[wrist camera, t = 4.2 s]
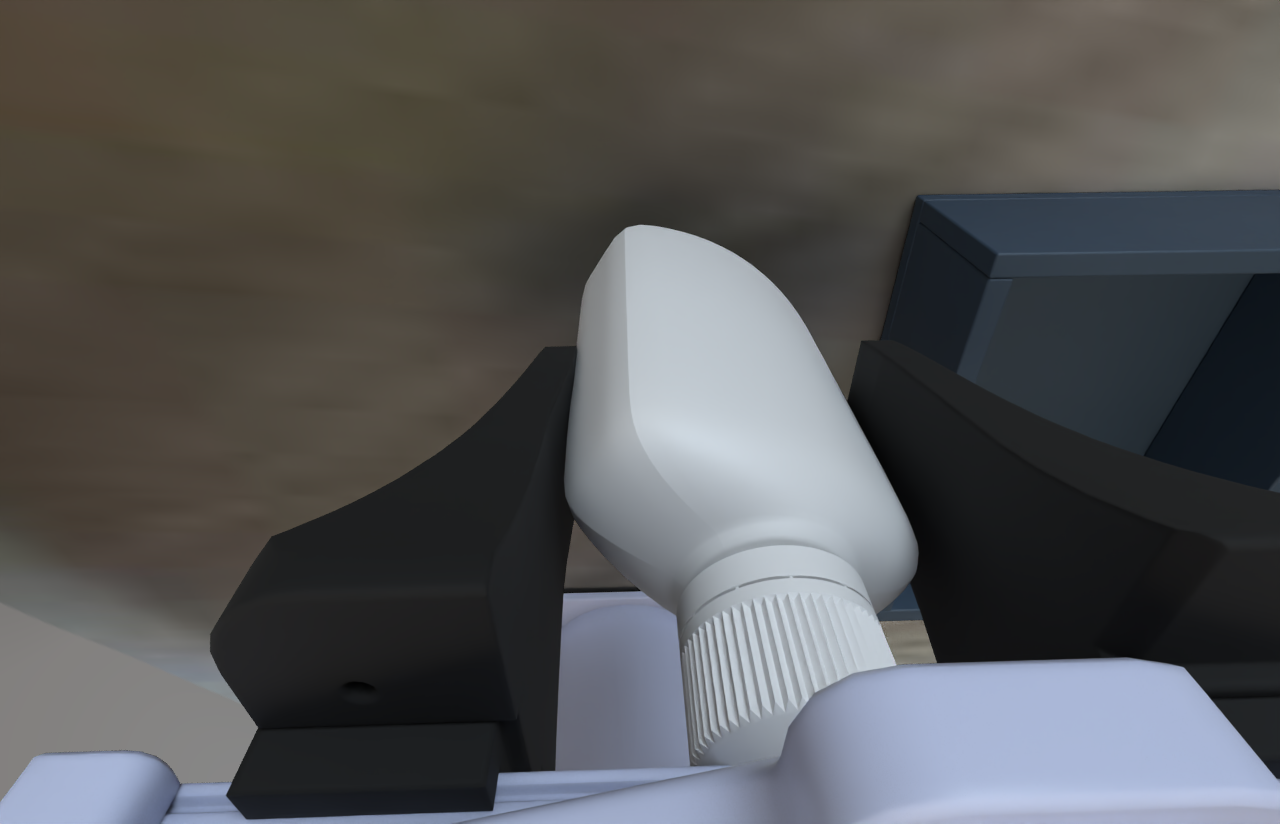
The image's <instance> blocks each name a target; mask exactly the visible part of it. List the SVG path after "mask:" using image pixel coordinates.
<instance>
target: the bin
mask: <svg viewBox="0 0 1280 824" xmlns="http://www.w3.org/2000/svg"><path fill="white" fill-rule="evenodd" d="M881 340H893V341H896V342H898V343H901V344H903V345H905V346H907V347H909V348H911V349H913V350H915V351H917V352H919V353H920V354H922V355H924V356H926V357H928V358H930V359H931V360H933V361H935V362H937V363H939V364H940V365H942V366H944V367H946V368H947V369H949V370H951V371H953V372H955V373H956V374H958V375H960V376H962V377H964V378H965V379H967V380H969V381H971V382H973V383H975V384H976V385H978V386H980V387H982V388H984V389H986V390H988V391H989V392H991V393H993V394H995V395H997V396H999V397H1001V398H1003V399H1005V400H1007V401H1009V402H1011V403H1013V404H1015V405H1017V406H1019V407H1021V408H1023V409H1025V410H1027V411H1029V412H1031V413H1034V414H1036V415H1038V416H1040V417H1042V418H1045V419H1047V420H1049V421H1051V422H1054V423H1056V424H1059V425H1061V426H1063V427H1066V428H1068V429H1071V430H1073V431H1076V432H1078V433H1081V434H1083V435H1086V436H1088V437H1090V438H1093V439H1096V440H1098V441H1101V442H1104V443H1107V444H1109V445H1112V446H1115V447H1118V448H1121V449H1124V450H1127V451H1130V452H1133V453H1136V454H1139V455H1142V456H1145V457H1148V458H1151V459H1154V460H1157V461H1160V462H1163V463H1167V464H1170V465H1173V466H1177V467H1180V468H1184V469H1187V470H1190V471H1194V472H1197V473H1201V474H1205V475H1209V476H1213V477H1217V478H1220V479H1224V480H1228V481H1232V482H1236V483H1239V484H1243V485H1247V486H1251V487H1255V488H1260V489H1264V490H1269V491H1274V492H1279V493H1280V190H1256V191H1184V192H1112V193H1040V194H968V195H918V196H917V198H916V202H915V206H914V210H913V214H912V218H911V222H910V226H909V230H908V234H907V238H906V242H905V246H904V250H903V254H902V258H901V262H900V266H899V270H898V274H897V278H896V282H895V286H894V290H893V293H892V297H891V301H890V305H889V309H888V313H887V317H886V321H885V325H884V329H883V333H882V337H881ZM876 615H877V618H878V620H879V621H905V620H923V618H922V615H921V612H920V610H919V607H918V604H917V601H916V598H915V596H914V593H913V590H912V587H911V585H910V583H909V584H908V586H907V587H906V589H905V590H904V591H903V592H902V593H901V594H900V595H899V596H898V597H897V598H896V599H895V600H894V601H892V602H891V603H890V604H889V605H888V606H887V607H885V608H884V609H883V610H882V611H880V612H879V613H878V614H876Z"/></svg>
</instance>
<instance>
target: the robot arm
mask: <svg viewBox="0 0 1280 824" xmlns="http://www.w3.org/2000/svg"><path fill="white" fill-rule="evenodd" d="M576 358H577V346H564V347H545V348H544V349H543V350H542V351H541V352H540V353H539V354H538V356H537V357H536V358H535V359H534V361H533V362H532V363H531V364H530V366H529V367H528V368H527V369H526V371H525V372H524V373H523V374H522V375H521V376H520V378H519V379H518V380H517V381H516V382H515V383H514V385H513V386H512V387H511V388H510V389H509V390H508V391H507V392H506V393H505V395H504V396H503V397H502V398H501V399H500V400H499V401H498V402H497V403H496V404H495V405H494V406H493V407H492V408H491V409H490V410H489V411H488V412H487V413H486V414H485V415H484V416H483V417H482V418H481V419H480V420H479V421H478V422H477V423H476V424H475V425H473V426H472V427H471V428H470V429H469V430H467V431H466V432H465V433H464V434H463V435H461V436H460V437H459V438H458V439H456V440H455V441H454V442H452V443H451V444H450V445H448V446H447V447H446V448H444V449H443V450H442V451H440V452H439V453H437V454H436V455H434V456H433V457H431V458H430V459H428V460H427V461H425V462H423V463H422V464H420V465H419V466H417V467H416V468H414V469H413V470H411V471H409V472H408V473H406V474H405V475H403V476H402V477H400V478H398V479H397V480H395V481H393V482H391V483H389V484H388V485H386V486H384V487H382V488H380V489H378V490H376V491H375V492H373V493H371V494H369V495H367V496H365V497H363V498H361V499H359V500H357V501H355V502H353V503H351V504H349V505H346V506H344V507H342V508H340V509H338V510H336V511H333V512H331V513H329V514H326V515H324V516H321V517H319V518H317V519H314V520H312V521H309V522H307V523H305V524H302V525H300V526H297V527H295V528H292V529H290V530H288V531H285V532H282V533H280V534H277V535H274V536H272V537H271V538H270V540H269V541H268V542H267V544H266V545H265V547H264V548H263V550H262V551H261V552H260V554H259V555H258V557H257V558H256V560H255V561H254V563H253V564H252V566H251V567H250V569H249V571H248V572H247V574H246V575H245V577H244V579H243V580H242V582H241V584H240V585H239V587H238V589H237V590H236V592H235V594H234V595H233V597H232V599H231V600H230V602H229V603H228V605H227V607H226V608H225V610H224V612H223V613H222V615H221V617H220V618H219V620H218V622H217V623H216V625H215V627H214V629H213V630H212V632H211V634H210V652H211V654H212V657H213V659H214V661H215V663H216V665H217V667H218V670H219V671H220V673H221V675H222V676H223V678H224V679H225V681H226V682H227V684H228V685H229V686H230V688H231V689H232V691H233V692H234V694H235V695H236V696H237V698H238V699H239V701H240V702H241V704H242V705H243V706H244V708H245V709H246V711H247V712H248V713H249V715H250V716H251V718H252V719H253V721H254V722H255V724H256V725H257V726H258V730H257V731H256V734H255V736H254V738H253V740H252V742H251V744H250V746H249V748H248V750H247V752H246V754H245V756H244V758H243V761H242V763H241V765H240V767H239V769H238V771H237V773H236V775H235V777H234V779H233V781H232V782H217V783H187V784H180V782H179V780H178V778H177V777H176V775H175V773H174V772H173V770H172V769H171V768H170V767H169V766H168V764H167V763H165V762H164V761H163V760H161V759H160V758H158V757H156V756H154V755H150V754H147V753H144V752H140V751H128V750H119V751H90V752H59V753H44V754H41V755H38V756H35V757H34V758H33V759H32V761H31V762H30V763H29V765H28V766H27V767H26V769H25V770H24V771H23V773H22V774H21V775H20V777H19V778H18V779H17V781H16V782H15V783H14V785H13V786H12V787H11V789H10V790H9V791H8V792H7V794H6V795H5V796H4V798H3V799H2V800H1V802H0V824H1280V493H1279V492H1274V491H1269V490H1264V489H1260V488H1255V487H1251V486H1247V485H1243V484H1239V483H1236V482H1232V481H1228V480H1224V479H1220V478H1217V477H1213V476H1209V475H1205V474H1201V473H1197V472H1194V471H1190V470H1187V469H1184V468H1180V467H1177V466H1173V465H1170V464H1167V463H1163V462H1160V461H1157V460H1154V459H1151V458H1148V457H1145V456H1142V455H1139V454H1136V453H1133V452H1130V451H1127V450H1124V449H1121V448H1118V447H1115V446H1112V445H1109V444H1107V443H1104V442H1101V441H1098V440H1096V439H1093V438H1090V437H1088V436H1086V435H1083V434H1081V433H1078V432H1076V431H1073V430H1071V429H1068V428H1066V427H1063V426H1061V425H1059V424H1056V423H1054V422H1051V421H1049V420H1047V419H1045V418H1042V417H1040V416H1038V415H1036V414H1034V413H1031V412H1029V411H1027V410H1025V409H1023V408H1021V407H1019V406H1017V405H1015V404H1013V403H1011V402H1009V401H1007V400H1005V399H1003V398H1001V397H999V396H997V395H995V394H993V393H991V392H989V391H988V390H986V389H984V388H982V387H980V386H978V385H976V384H975V383H973V382H971V381H969V380H967V379H965V378H964V377H962V376H960V375H958V374H956V373H955V372H953V371H951V370H949V369H947V368H946V367H944V366H942V365H940V364H939V363H937V362H935V361H933V360H931V359H930V358H928V357H926V356H924V355H922V354H920V353H919V352H917V351H915V350H913V349H911V348H909V347H907V346H905V345H903V344H901V343H898V342H896V341H893V340H877V341H861V345H860V349H859V353H858V358H857V362H856V366H855V371H854V375H853V379H852V384H851V388H850V393H849V397H848V401H847V402H848V404H849V406H850V408H851V410H852V412H853V414H854V416H855V417H856V419H857V421H858V423H859V425H860V427H861V429H862V430H863V432H864V434H865V436H866V438H867V440H868V442H869V444H870V445H871V447H872V449H873V451H874V453H875V455H876V457H877V458H878V460H879V462H880V464H881V466H882V468H883V470H884V472H885V474H886V476H887V478H888V479H889V481H890V483H891V485H892V487H893V489H894V491H895V493H896V495H897V497H898V499H899V501H900V503H901V505H902V507H903V509H904V511H905V513H906V515H907V517H908V520H909V522H910V524H911V527H912V529H913V532H914V535H915V538H916V540H917V543H918V551H919V555H918V565H917V570H916V573H915V575H914V577H913V579H912V580H911V582H910V585H911V587H912V590H913V593H914V596H915V598H916V601H917V604H918V607H919V610H920V612H921V615H922V618H923V621H924V624H925V627H926V630H927V633H928V636H929V639H930V642H931V646H932V649H933V652H934V655H935V658H936V661H937V663H930V664H902V665H896V666H890V667H885V668H879V669H873V670H868V671H862V672H856V673H852V674H850V675H848V676H846V677H844V678H843V679H841V680H839V681H837V682H835V683H833V684H831V685H829V686H827V687H825V688H823V689H821V690H819V691H817V692H815V693H814V694H813V695H812V696H811V698H810V699H809V700H808V702H807V703H806V704H805V706H804V707H803V708H802V710H801V711H800V712H799V714H798V715H797V716H796V718H795V719H794V720H793V722H792V723H791V724H790V726H789V727H788V730H787V734H786V738H785V742H784V746H783V750H782V754H781V756H779V757H774V758H768V759H763V760H758V761H754V762H749V763H744V764H739V765H734V766H730V765H712V766H690V759H689V748H688V738H687V727H686V716H685V705H684V694H683V683H682V672H681V661H680V649H679V639H678V628H677V617H676V615H674V614H672V613H671V612H669V611H668V610H666V609H665V608H663V607H662V606H661V605H659V604H658V603H657V602H655V601H654V600H652V599H651V598H650V597H648V596H647V595H646V594H644V593H643V592H642V591H633V592H597V593H564V581H565V573H566V564H567V558H568V552H569V546H570V540H571V534H572V528H573V522H574V517H573V515H572V512H571V510H570V507H569V504H568V502H567V499H566V497H565V487H564V472H565V458H566V444H567V432H568V422H569V413H570V404H571V397H572V391H573V384H574V377H575V367H576Z"/></svg>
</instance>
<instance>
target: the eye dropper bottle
mask: <svg viewBox="0 0 1280 824" xmlns="http://www.w3.org/2000/svg"><path fill="white" fill-rule="evenodd" d="M564 487H565V497H566V499H567V502H568V504H569V507H570V510H571V512H572V515H573V517H574V519H575V521H576V522H577V524H578V525H579V527H580V528H581V529H582V531H583V532H584V533H585V535H586V536H587V537H588V539H589V540H590V541H591V542H592V543H593V544H594V545H595V547H596V548H597V549H598V550H599V551H600V552H601V553H602V554H603V556H604V557H605V558H606V559H607V560H608V561H609V562H610V563H611V564H612V565H613V566H614V567H615V568H616V569H617V570H618V571H619V572H620V573H621V574H622V575H623V576H624V577H626V578H627V579H628V580H629V581H630V582H631V583H633V584H634V585H635V586H636V587H637V588H638V589H640V590H641V591H642V592H643V593H644V594H646V595H647V596H648V597H650V598H651V599H652V600H654V601H655V602H657V603H658V604H659V605H661V606H662V607H663V608H665V609H666V610H668V611H669V612H671V613H672V614H674V615H676V617H677V628H678V639H679V649H680V661H681V672H682V683H683V694H684V705H685V716H686V727H687V738H688V748H689V759H690V766H712V765H730V766H734V765H739V764H744V763H749V762H754V761H758V760H763V759H768V758H774V757H779V756H781V754H782V750H783V746H784V742H785V738H786V734H787V730H788V727H789V726H790V724H791V723H792V722H793V720H794V719H795V718H796V716H797V715H798V714H799V712H800V711H801V710H802V708H803V707H804V706H805V704H806V703H807V702H808V700H809V699H810V698H811V696H812V695H813V694H814V693H815V692H817V691H819V690H821V689H823V688H825V687H827V686H829V685H831V684H833V683H835V682H837V681H839V680H841V679H843V678H844V677H846V676H848V675H850V674H852V673H856V672H862V671H868V670H873V669H879V668H885V667H890V666H896V663H895V660H894V658H893V655H892V653H891V650H890V648H889V645H888V643H887V640H886V638H885V635H884V633H883V630H882V628H881V625H880V623H879V620H878V618H877V615H876V614H878V613H879V612H880V611H882V610H883V609H884V608H885V607H887V606H888V605H889V604H890V603H891V602H892V601H894V600H895V599H896V598H897V597H898V596H899V595H900V594H901V593H902V592H903V591H904V590H905V589H906V587H907V586H908V584H909V583H910V582H911V580H912V579H913V577H914V575H915V573H916V570H917V565H918V555H919V551H918V543H917V540H916V538H915V535H914V532H913V529H912V527H911V524H910V522H909V520H908V517H907V515H906V513H905V511H904V509H903V507H902V505H901V503H900V501H899V499H898V497H897V495H896V493H895V491H894V489H893V487H892V485H891V483H890V481H889V479H888V478H887V476H886V474H885V472H884V470H883V468H882V466H881V464H880V462H879V460H878V458H877V457H876V455H875V453H874V451H873V449H872V447H871V445H870V444H869V442H868V440H867V438H866V436H865V434H864V432H863V430H862V429H861V427H860V425H859V423H858V421H857V419H856V417H855V416H854V414H853V412H852V410H851V408H850V406H849V404H848V402H847V401H846V399H845V397H844V395H843V393H842V391H841V390H840V388H839V386H838V384H837V382H836V380H835V378H834V377H833V375H832V373H831V371H830V369H829V367H828V366H827V364H826V362H825V360H824V358H823V356H822V355H821V353H820V351H819V349H818V347H817V345H816V343H815V342H814V340H813V338H812V336H811V334H810V332H809V331H808V329H807V327H806V325H805V324H804V322H803V320H802V319H801V317H800V316H799V314H798V313H797V311H796V310H795V308H794V307H793V306H792V304H791V303H790V302H789V300H788V299H787V298H786V297H785V296H784V294H783V293H782V292H781V291H780V290H779V289H778V288H777V287H776V286H775V285H774V284H773V283H772V282H771V281H770V280H769V279H768V278H767V277H766V276H765V275H764V274H763V273H761V272H760V271H759V270H758V269H756V268H755V267H754V266H753V265H751V264H750V263H748V262H747V261H746V260H744V259H743V258H741V257H739V256H738V255H736V254H735V253H733V252H731V251H729V250H727V249H725V248H724V247H722V246H720V245H717V244H715V243H713V242H711V241H708V240H706V239H703V238H700V237H698V236H695V235H691V234H688V233H685V232H681V231H677V230H673V229H669V228H663V227H658V226H650V225H636V226H632V227H627V228H625V229H624V230H623V231H622V232H621V233H619V234H618V235H617V236H616V237H615V238H614V239H613V241H612V242H611V244H610V245H609V247H608V248H607V250H606V251H605V253H604V255H603V256H602V258H601V259H600V261H599V262H598V264H597V266H596V267H595V269H594V270H593V272H592V274H591V275H590V277H589V279H588V281H587V282H586V284H585V288H584V293H583V297H582V303H581V312H580V320H579V329H578V338H577V358H576V367H575V377H574V384H573V391H572V397H571V404H570V413H569V422H568V432H567V444H566V458H565V472H564Z"/></svg>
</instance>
